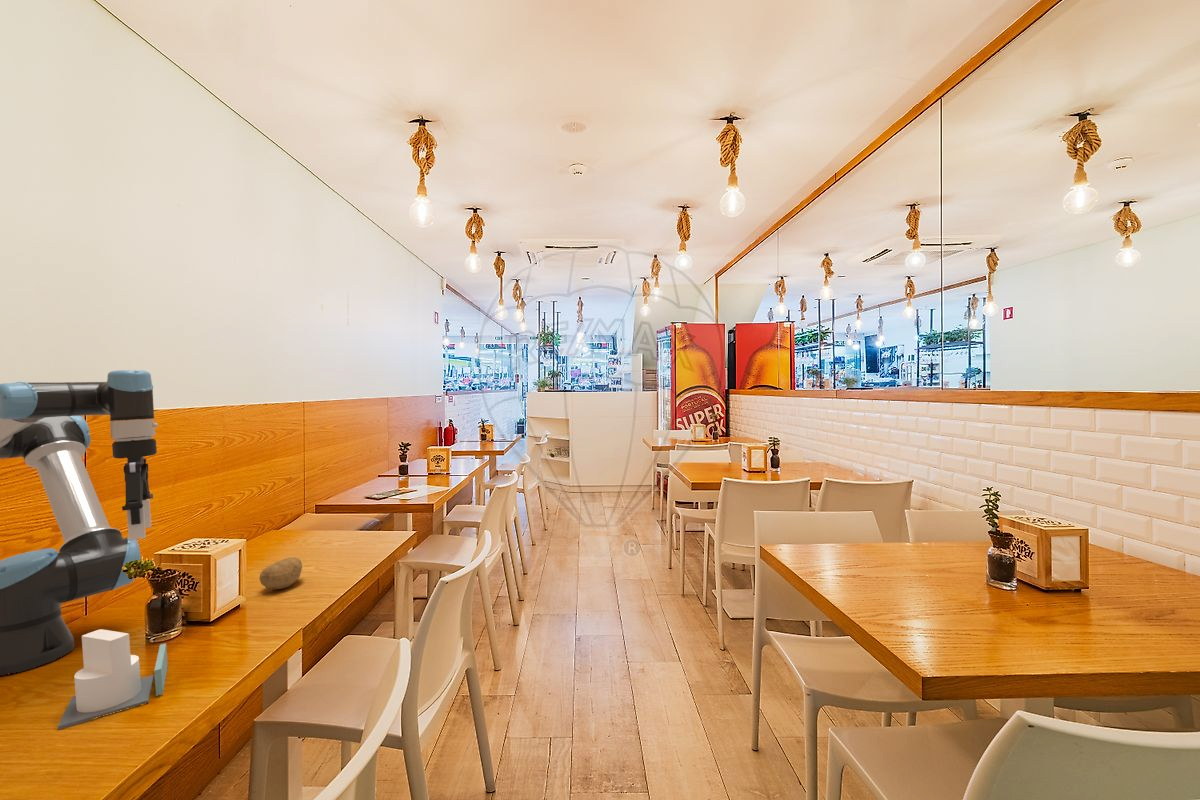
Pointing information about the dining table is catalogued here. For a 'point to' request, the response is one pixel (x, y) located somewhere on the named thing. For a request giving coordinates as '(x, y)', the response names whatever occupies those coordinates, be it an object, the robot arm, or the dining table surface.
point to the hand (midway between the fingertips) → (140, 533)
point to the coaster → (77, 717)
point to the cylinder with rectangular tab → (106, 671)
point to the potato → (281, 573)
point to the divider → (161, 669)
